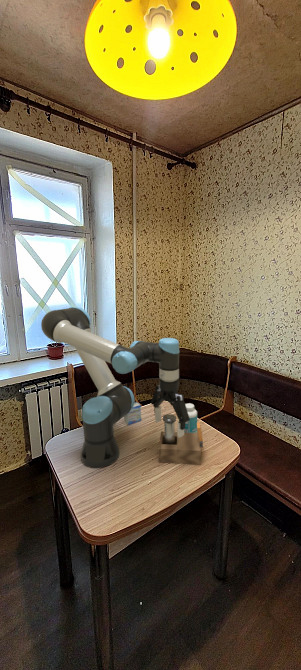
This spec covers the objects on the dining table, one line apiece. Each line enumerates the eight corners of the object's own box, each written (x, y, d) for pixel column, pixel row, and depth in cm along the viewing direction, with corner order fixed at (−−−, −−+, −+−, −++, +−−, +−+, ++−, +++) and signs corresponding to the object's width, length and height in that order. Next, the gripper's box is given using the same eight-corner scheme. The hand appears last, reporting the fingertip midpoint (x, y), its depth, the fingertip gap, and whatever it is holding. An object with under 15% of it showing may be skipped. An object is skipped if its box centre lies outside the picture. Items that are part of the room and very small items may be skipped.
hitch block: (158, 462, 105) (158, 444, 104) (161, 444, 117) (161, 427, 115) (202, 465, 103) (203, 446, 101) (201, 446, 115) (201, 429, 113)
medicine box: (127, 425, 132) (127, 409, 131) (123, 421, 136) (122, 405, 134) (141, 420, 137) (141, 404, 135) (137, 417, 140) (136, 401, 138)
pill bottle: (196, 428, 128) (196, 402, 126) (197, 437, 121) (198, 409, 118) (180, 428, 129) (180, 401, 126) (180, 436, 122) (180, 409, 119)
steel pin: (163, 457, 108) (162, 420, 105) (163, 449, 113) (163, 413, 110) (176, 457, 108) (175, 421, 104) (176, 449, 113) (176, 414, 109)
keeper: (199, 436, 109) (202, 435, 109) (199, 441, 106) (202, 441, 105) (196, 422, 108) (199, 422, 108) (197, 427, 105) (200, 427, 104)
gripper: (142, 372, 111) (142, 419, 116) (185, 391, 92) (184, 446, 96) (156, 368, 116) (156, 413, 120) (200, 385, 97) (198, 439, 101)
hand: (168, 428), depth 108 cm, fingers open, 13 cm apart
